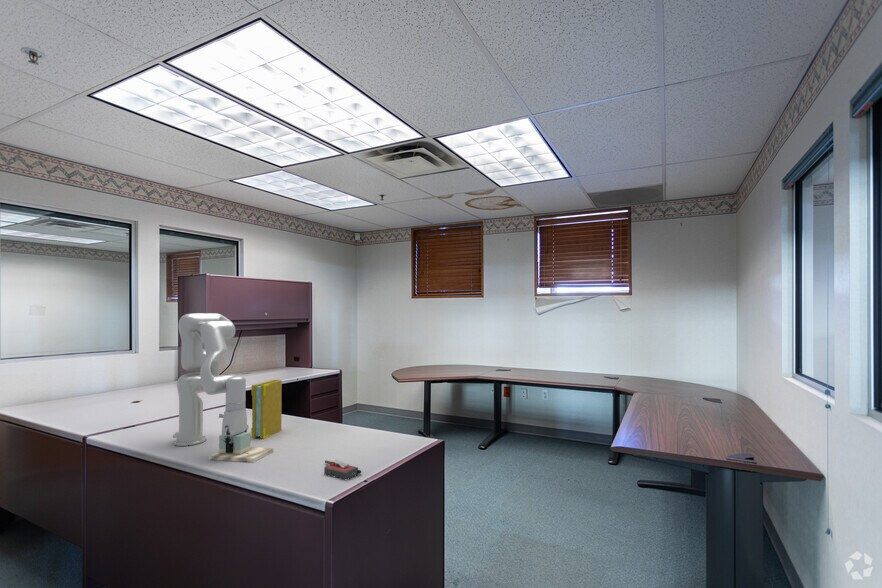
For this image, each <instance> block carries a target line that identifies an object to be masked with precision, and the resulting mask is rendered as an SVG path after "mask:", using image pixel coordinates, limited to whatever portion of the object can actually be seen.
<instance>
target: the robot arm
mask: <svg viewBox="0 0 882 588" xmlns="http://www.w3.org/2000/svg"><path fill="white" fill-rule="evenodd" d="M178 332H179V336H180V339H181V348H180V349H181V356H180V357H181V358H180V360H181V362H180V363H181V368H182V369H183V370H185V371H196V372H191V373H185V374H182V375H181V376H180V377H179V378H177V382H176V388H177V393H178V431H177V432H174V434H173V435H172V438H176V440H175V441H174V445H175V446H176V447H177V446H179V447H189V446H194V445H199V444H201V443H204V442H205V441H207V437H206V436H205V435H203V434H204V433H203V431H204V430H203V427H204V425H203V424H204V422H203V421H204V403H203V400H202V398H201V397H200V396H199V394H200V393H206V394H207V395H210V396H211V395H212V396H213V395H218V394H219V395H220V394H225V411H223V415H222V416H223V417H222V424H221V434H220V435H221V438H222V439H223V441H224V443H226V453H233V443H232V441H233V436H234V435H237V434H239V433H242V432H248V430H249V424H248V414H247V409H246V401H247V399H246V397H247V396H246V395H247V394H246V390H247V387H246V386H247V385H246V382H247V380H246V377H245V376H244V375H243V376H241V375H237V374H233V373H231V374H221V375H220V367H221V366H220V365H221V364H220V362H221V361H220V359H221V358H223V357H225V356H227V354H228V353H229V351H228V350H229V349H228V346H227V343H226V340H227V339H228V340H229V339H232V338H234V337H235V335H236V326H235V324H234V323H233V321H231V320H230V319H228V318H227V317H226V316H224V315H223V314H220V313H216V312H214V313H213V312H211V313H209V312H208V313H207V312H201V313H200V312H196V313H195V312H193V313H185V314H184V315H182V316H181V317H180V318H179V320H178ZM198 332H200V333H198ZM197 370H200V371H198V372H197ZM229 434H230V435H229ZM228 437H230V439H229V438H228ZM188 445H189V446H188Z"/></svg>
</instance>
